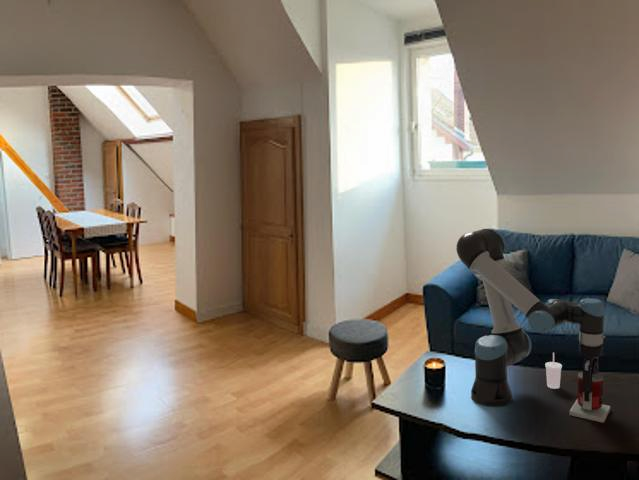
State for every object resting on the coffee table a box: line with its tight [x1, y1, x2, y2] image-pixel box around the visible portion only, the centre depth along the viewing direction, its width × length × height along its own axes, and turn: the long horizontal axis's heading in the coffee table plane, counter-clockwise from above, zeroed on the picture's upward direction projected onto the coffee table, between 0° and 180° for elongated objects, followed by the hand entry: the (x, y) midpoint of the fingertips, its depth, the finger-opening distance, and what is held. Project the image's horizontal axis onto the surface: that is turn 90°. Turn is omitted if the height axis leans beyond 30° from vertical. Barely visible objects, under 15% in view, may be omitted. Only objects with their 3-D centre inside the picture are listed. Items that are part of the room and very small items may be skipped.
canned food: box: [577, 371, 604, 409], centre depth 193 cm, size 8×8×11 cm
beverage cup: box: [544, 352, 563, 390], centre depth 215 cm, size 6×6×14 cm
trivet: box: [569, 398, 611, 424], centre depth 194 cm, size 11×11×2 cm
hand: (589, 404), depth 193 cm, fingers closed on canned food, 8 cm apart
